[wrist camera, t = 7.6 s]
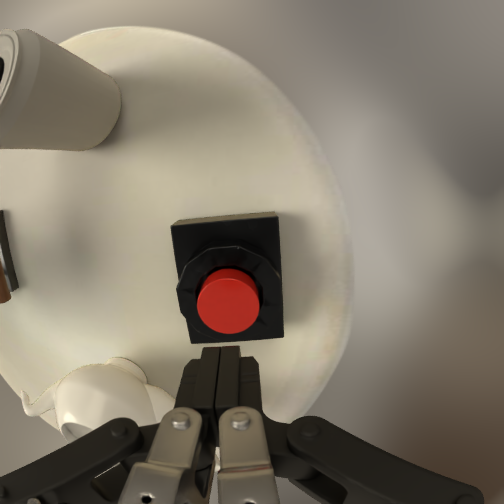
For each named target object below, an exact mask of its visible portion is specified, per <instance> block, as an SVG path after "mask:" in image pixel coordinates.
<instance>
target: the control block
mask: <svg viewBox="0 0 504 504" xmlns="http://www.w3.org/2000/svg"><path fill="white" fill-rule="evenodd" d="M171 234H172V241H173V248H174V255H175V261H176V267H177V273H178V279H179V282H178V285H177V288H176V291H177V296H178V301H179V306H180V311H181V313H182V315H183V316H184V317H185V318H186V322H187V327H188V331H189V336H190V341H191V344H199V343H221V342H237V341H250V340H262V339H273V338H283V337H284V321H283V295H282V273H281V254H280V236H279V219H278V216H277V214H276V213H275V212H262V213H249V214H238V215H226V216H216V217H205V218H195V219H186V220H178V221H177V222H175V223H174V224H173V225H171ZM221 269H236V270H240V271H242V272H244V273H246V274H247V275H248V276H250V277H251V278H252V280H253V281H254V283H255V284H256V287H257V290H258V297H259V313H258V316H257V318H256V320H255V322H254V323H253V324H252V325H251V326H250V327H249V328H247V329H245V330H244V331H241V332H238V333H233V334H226V333H220V332H217V331H215V330H213V329H211V328H209V327H208V326H207V325H206V324H205V323H204V322H203V321H202V319H201V317H200V315H199V313H198V309H197V301H198V297H199V294H200V291H201V288H202V285H203V283H204V281H205V280H206V279H207V277H208V276H209V275H211V274H212V273H214V272H216V271H218V270H221Z"/></svg>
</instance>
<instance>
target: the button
mask: <svg viewBox="0 0 504 504" xmlns="http://www.w3.org/2000/svg"><path fill="white" fill-rule="evenodd" d="M197 309H198V313H199V315H200V317H201V319H202V321H203V322H204V323H205V324H206V325H207V326H208V327H209V328H211V329H213V330H215V331H217V332H220V333H226V334H233V333H238V332H241V331H244V330H245V329H247V328H249V327H250V326H251V325H252V324H253V323H254V322H255V320H256V318H257V316H258V313H259V297H258V290H257V287H256V284H255V283H254V281H253V280H252V278H251V277H250V276H248V275H247V274H246V273H244V272H242V271H240V270H236V269H221V270H218V271H216V272H214V273H212V274H211V275H209V276H208V277H207V279H206V280H205V281H204V283H203V285H202V288H201V291H200V294H199V297H198V301H197Z"/></svg>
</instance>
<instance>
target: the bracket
mask: <svg viewBox="0 0 504 504" xmlns="http://www.w3.org/2000/svg"><path fill="white" fill-rule="evenodd" d="M0 258H1V262H2V266H3V270H4V274H5V278H6V281H7V285H8V288H9V291H10V292H13V291H14V290H16V289H18V288H19V285H18V282H17V278H16V274H15V271H14V267H13V263H12V259H11V254H10V250H9V245H8V240H7V235H6V229H5V224H4V217H3V211H2V210H0Z"/></svg>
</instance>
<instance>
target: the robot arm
mask: <svg viewBox="0 0 504 504" xmlns="http://www.w3.org/2000/svg"><path fill="white" fill-rule="evenodd" d="M180 383H181V384H180V386H179V390H178V393H177V397H176V401H175V405H174V408H173V409H172V410H170V411H169V412H167V413H166V414H165V415H164V416H163V418H162V420H161V422H159V423H157V424H152V425H146V426H140V427H138V425H137V423H136V422H135V421H134V420H132V419H130V418H126V417H119V418H115V419H112V420H110V421H108V422H107V423H105V424H103V425H102V426H100V427H98V428H96V429H95V430H93V431H91V432H89V433H88V434H86V435H84V436H82V437H80V438H79V439H77V440H75V441H73V442H71V443H69V444H67V445H66V446H64V447H62V448H60V449H58V450H56V451H54V452H52V453H50V454H48V455H46V456H44V457H42V458H40V459H38V460H36V461H34V462H32V463H30V464H28V465H26V466H24V467H22V468H20V469H17V470H15V471H13V472H11V473H9V474H6V475H4V476H2V477H0V504H209V499H210V493H211V488H212V482H213V476H214V471H215V465H216V460H215V450H216V447H220V470H218V476H217V479H218V503H219V504H280V500H279V495H278V490H277V485H276V481H275V476H277V477H283V478H288V480H289V481H290V482H291V483H292V484H294V485H295V486H297V487H298V488H299V489H301V490H302V491H304V492H305V493H307V494H308V495H309V496H311V497H312V498H314V499H315V500H317V501H319V502H320V503H321V504H484V497H483V494H482V493H481V491H480V490H479V489H478V488H476V487H474V486H471V485H468V484H465V483H462V482H459V481H456V480H453V479H451V478H448V477H445V476H442V475H440V474H437V473H434V472H432V471H429V470H427V469H424V468H422V467H419V466H417V465H415V464H412V463H410V462H408V461H405V460H403V459H401V458H399V457H397V456H394V455H392V454H390V453H388V452H386V451H384V450H382V449H380V448H378V447H375V446H374V445H371V444H369V443H367V442H365V441H364V440H362V439H360V438H358V437H356V436H354V435H352V434H350V433H348V432H346V431H345V430H343V429H341V428H339V427H337V426H335V425H334V424H332V423H330V422H328V421H327V420H325V419H323V418H320V417H317V416H304V417H301V418H298V419H296V420H294V421H293V422H292V423H291V424H287V423H280V422H276V421H273V420H271V419H270V418H268V417H267V416H266V415H265V414H264V412H263V410H262V399H261V386H260V375H259V364H258V362H257V361H256V360H255V359H254V357H253V356H251V357H241V352H240V346H223V347H222V348H221V347H204V348H203V350H202V355H201V359H192V360H191V361H190V362H189V363H188V364H187V365H186V366H185V368H184V371H183V375H182V379H181V382H180ZM119 462H120V463H119ZM118 463H119V464H118ZM116 464H118V465H116ZM114 465H116V466H115V467H113V466H114ZM111 467H113V468H111ZM110 468H111V469H110ZM108 469H110V470H108ZM106 470H108V471H107V472H105V473H103V472H104V471H106ZM101 473H103V474H101ZM99 474H101V475H100V476H98V475H99ZM96 476H98V477H96ZM95 477H96V478H95Z"/></svg>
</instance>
